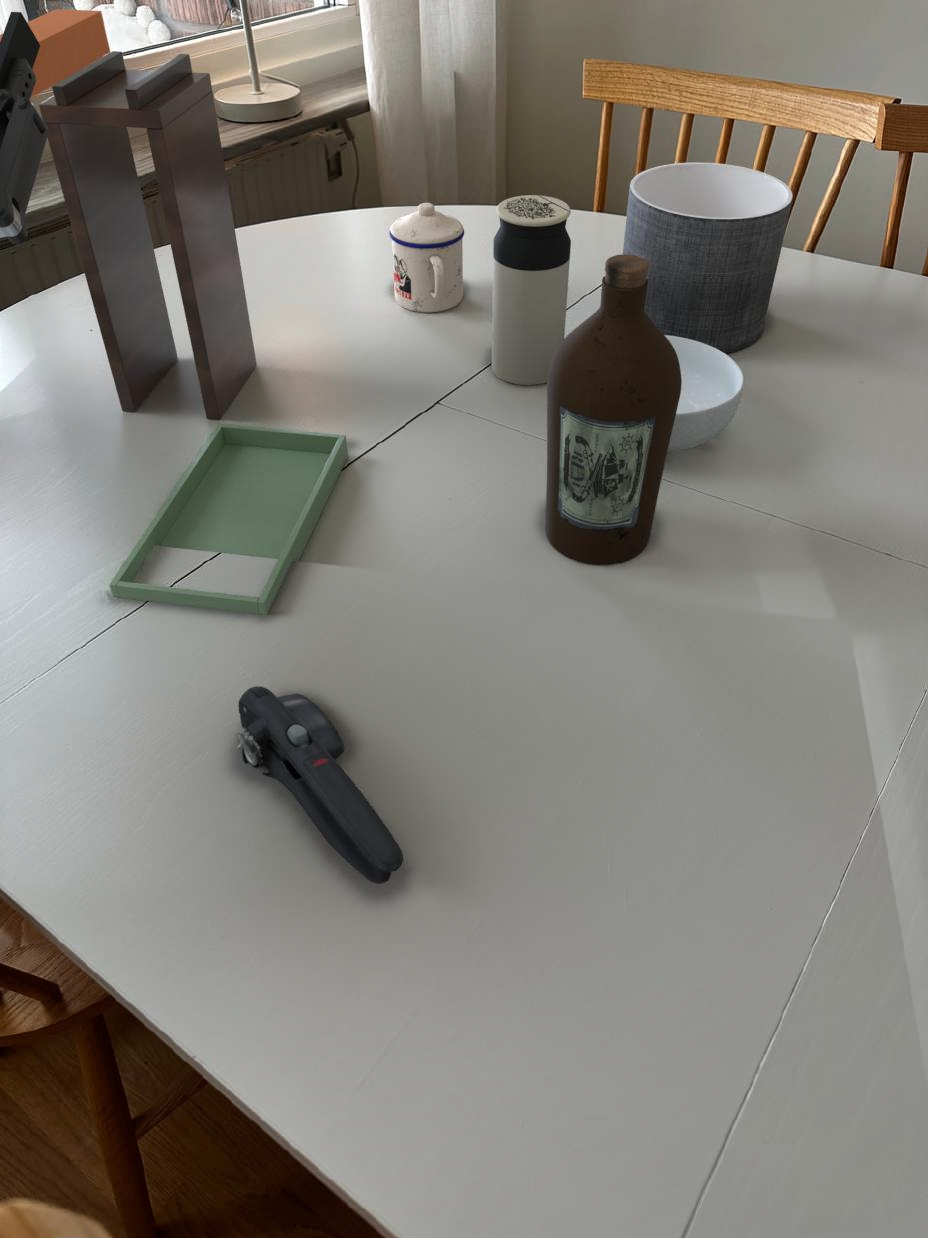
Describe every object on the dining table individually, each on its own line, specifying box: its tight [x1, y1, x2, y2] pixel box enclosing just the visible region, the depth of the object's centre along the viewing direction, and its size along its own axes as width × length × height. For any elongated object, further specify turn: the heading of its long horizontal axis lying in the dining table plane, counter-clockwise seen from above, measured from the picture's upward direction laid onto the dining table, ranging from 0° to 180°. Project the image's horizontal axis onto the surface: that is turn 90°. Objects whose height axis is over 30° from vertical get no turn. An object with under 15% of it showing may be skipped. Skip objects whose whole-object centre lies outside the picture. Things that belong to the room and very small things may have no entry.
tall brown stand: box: [38, 50, 258, 421], centre depth 97 cm, size 11×12×32 cm
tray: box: [109, 422, 349, 616], centre depth 89 cm, size 13×25×2 cm, turn 170°
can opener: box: [235, 686, 404, 885], centre depth 65 cm, size 18×7×6 cm, turn 35°
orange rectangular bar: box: [0, 8, 111, 100], centre depth 73 cm, size 4×20×3 cm, turn 170°
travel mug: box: [491, 194, 572, 386], centre depth 104 cm, size 8×8×18 cm
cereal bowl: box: [665, 335, 745, 453], centre depth 98 cm, size 17×17×7 cm
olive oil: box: [544, 253, 682, 566], centre depth 80 cm, size 11×11×25 cm
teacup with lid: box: [389, 202, 465, 313], centre depth 119 cm, size 12×9×12 cm
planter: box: [622, 162, 794, 354], centre depth 114 cm, size 18×18×16 cm
